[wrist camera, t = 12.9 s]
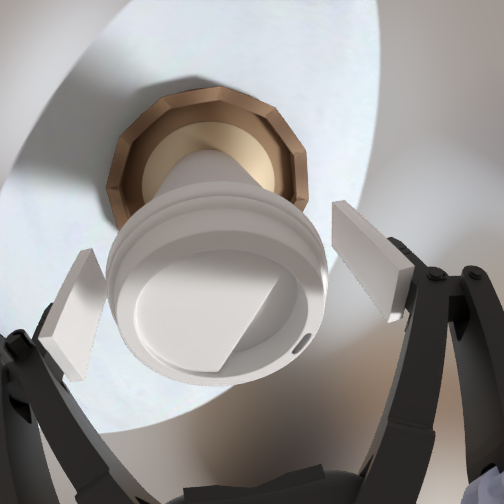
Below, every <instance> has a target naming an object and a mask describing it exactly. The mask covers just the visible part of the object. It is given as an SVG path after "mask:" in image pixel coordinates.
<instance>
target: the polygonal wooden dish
mask: <svg viewBox="0 0 504 504" xmlns="http://www.w3.org/2000/svg"><path fill="white" fill-rule="evenodd" d="M199 150H217V151H221V152H223V153H226V154H228V155H230V156H231V157H233V158H234V159H235V160H236V161H237V162H238V163H239V164H240V165H241V166H242V167H243V168H244V169H245V170H246V171H247V172H248V173H249V174H250V175H251V176H252V177H253V178H254V179H255V180H256V181H257V182H258V183H259V184H260V185H261V187H262V188H263V189H266V190H268V191H271V192H273V193H275V194H277V195H279V196H281V197H283V198H284V199H286V200H288V201H289V202H291V203H292V204H293V205H295V206H296V207H297V208H298V209H299V210H300V211H301V212H302V213H303V211H304V209H305V207H306V205H307V203H308V201H309V194H308V173H307V156H306V150H305V148H304V147H303V145H302V144H301V142H300V141H299V140H298V138H297V137H296V135H295V134H294V132H293V131H292V130H291V128H290V127H289V125H288V124H287V123H286V121H285V120H284V118H283V117H282V116H281V114H280V113H279V112H278V110H277V109H276V108H275V107H273V106H271V105H269V104H266V103H264V102H261V101H259V100H257V99H255V98H253V97H251V96H249V95H246V94H243V93H240V92H237V91H234V90H231V89H228V88H226V87H223V86H218V87H211V88H201V89H192V90H188V91H184V92H180V93H177V94H174V95H169V96H164V97H162V98H161V99H160V100H158V101H157V102H156V103H155V104H154V105H153V106H152V107H150V108H149V109H148V110H147V111H145V112H144V113H143V114H142V115H141V116H140V117H139V118H138V119H137V120H136V121H135V122H134V123H133V124H132V125H131V126H130V127H129V128H128V129H127V130H126V131H125V132H124V133H123V134H122V135H121V136H120V137H119V140H118V144H117V147H116V151H115V154H114V158H113V162H112V165H111V169H110V173H109V177H108V181H107V186H106V190H107V194H108V197H109V200H110V204H111V207H112V210H113V213H114V216H115V220H116V223H117V226H118V229H119V231H120V230H121V228H122V227H123V226H124V224H125V223H126V222H127V221H128V220H129V219H130V218H131V217H132V216H133V215H134V214H135V213H136V212H137V211H138V210H139V209H140V208H142V207H143V206H144V205H146V204H147V203H149V202H150V201H152V199H153V197H154V196H155V194H156V193H157V191H158V190H159V188H160V186H161V185H162V183H163V182H164V180H165V179H166V177H167V176H168V174H169V172H170V171H171V169H172V168H173V167H174V165H175V164H176V163H177V162H178V161H179V160H180V159H182V158H183V157H184V156H186V155H188V154H190V153H192V152H195V151H199Z"/></svg>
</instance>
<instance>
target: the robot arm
mask: <svg viewBox="0 0 504 504" xmlns="http://www.w3.org/2000/svg"><path fill="white" fill-rule="evenodd" d="M332 247H333V248H334V250H335V251H336V252H337V254H338V255H339V256H340V258H341V259H342V260H343V262H344V263H345V264H346V266H347V267H348V268H349V270H350V271H351V272H352V274H353V275H354V276H355V278H356V279H357V280H358V282H359V283H360V284H361V286H362V287H363V288H364V290H365V291H366V293H367V294H368V295H369V297H370V298H371V299H372V301H373V302H374V304H375V305H376V306H377V308H378V309H379V311H380V312H381V314H382V315H383V317H384V318H385V320H386V321H387V322H388V323H389V322H392V321H395V320H398V319H401V318H403V314H404V310H405V308H406V309H407V310H408V312H409V313H410V315H409V318H408V322H407V325H406V328H405V336H404V341H403V345H402V349H401V353H400V357H399V361H398V364H397V368H396V372H395V376H394V379H393V383H392V386H391V389H390V393H389V396H388V399H387V402H386V405H385V408H384V411H383V414H382V417H381V420H380V423H379V425H378V428H377V431H376V433H375V436H374V439H373V441H372V444H371V447H370V449H369V451H368V454H367V456H366V458H365V460H364V462H363V464H362V466H361V468H360V470H359V473H358V475H356V474H354V473H350V472H346V471H340V470H323V468H322V465H321V464H319V465H316V466H312V467H308V468H305V469H301V470H297V471H293V472H289V473H286V474H284V475H282V476H280V477H278V478H275V479H273V480H271V481H269V482H267V483H264V484H262V485H260V486H257V487H254V488H244V487H230V486H220V485H213V486H203V487H190V488H183V491H184V495H182V496H179V497H177V498H175V499H173V500H171V501H169V502H167V503H166V504H416V501H417V498H418V495H419V493H420V490H421V487H422V483H423V480H424V477H425V474H426V471H427V468H428V464H429V461H430V457H431V453H432V450H433V446H434V441H435V431H433V423H434V418H435V413H436V408H437V403H438V398H439V392H440V387H441V380H442V373H443V366H444V358H445V349H446V339H447V327H448V324H449V328H450V333H451V337H452V342H453V347H454V352H455V358H456V363H457V369H458V375H459V382H460V389H461V397H462V406H463V416H464V428H465V444H466V466H467V475H468V481H469V486H468V487H467V488H466V490H465V492H464V495H463V499H462V500H461V504H504V311H503V308H502V306H501V303H500V301H499V299H498V297H497V294H496V292H495V290H494V288H493V285H492V283H491V281H490V279H489V277H488V275H487V273H486V272H485V271H484V270H482V269H481V268H479V267H477V266H466V267H464V269H463V270H462V274H461V276H448V274H447V273H446V272H445V271H443V270H442V269H440V268H437V267H427V266H426V265H425V264H424V263H423V262H422V261H421V260H420V259H419V258H418V257H417V256H416V255H415V254H414V253H412V251H410V250H409V249H408V248H407V247H406V246H405V245H404V244H403V243H402V242H401V241H399V240H397V239H395V238H393V237H389V238H386V237H385V236H384V235H383V234H381V233H380V232H379V231H378V230H377V229H376V228H375V227H374V226H373V225H372V224H371V223H370V222H369V221H367V220H366V219H365V218H364V217H363V216H362V215H361V214H360V213H359V212H357V211H356V210H355V209H354V208H353V207H352V206H351V205H350V204H348V203H347V202H346V201H345V200H343V201H336V202H332ZM106 297H107V291H106V280H105V278H104V276H103V273H102V271H101V269H100V266H99V264H98V262H97V259H96V257H95V254H94V252H93V249H92V248H91V249H86V250H82V251H80V252H79V254H78V256H77V258H76V260H75V262H74V263H73V265H72V267H71V269H70V271H69V273H68V275H67V277H66V279H65V281H64V283H63V284H62V286H61V288H60V290H59V293H58V295H57V297H56V299H55V301H54V303H50V305H49V306H48V307H47V308H46V309H45V310H44V313H43V315H42V317H41V319H40V321H39V323H38V326H37V328H36V330H35V332H34V335H33V337H32V339H30V337H29V336H28V334H27V333H26V332H25V330H23V329H18V330H15V331H14V332H12V333H11V334H10V335H8V337H7V338H6V339H5V338H3V337H2V336H1V335H0V504H60V503H59V500H58V497H57V494H56V492H55V489H54V485H53V483H52V479H51V476H50V472H49V469H48V466H47V462H46V458H45V454H44V451H43V446H42V442H41V437H40V432H39V428H38V423H39V425H40V428H41V430H42V432H43V433H44V435H45V438H46V440H47V441H48V443H49V445H50V447H51V449H52V451H53V452H54V454H55V456H56V458H57V460H58V461H59V463H60V465H61V467H62V468H63V470H64V472H65V473H66V475H67V477H68V478H69V480H70V481H71V483H72V485H73V486H74V488H75V489H76V491H77V494H76V496H75V499H76V501H77V503H78V504H161V503H160V502H158V501H157V500H156V499H155V498H153V497H152V496H151V495H150V494H149V493H148V492H147V491H146V490H145V489H144V488H143V487H142V486H141V485H140V484H139V483H138V482H137V481H136V479H135V478H134V477H133V476H132V475H131V474H130V473H129V472H128V470H127V469H126V468H125V467H124V466H123V465H122V463H121V462H120V461H119V460H118V459H117V457H116V456H115V455H114V454H113V452H112V451H111V450H110V449H109V447H108V446H107V445H106V444H105V442H104V441H103V440H102V438H101V437H100V435H99V434H98V433H97V431H96V430H95V429H94V427H93V426H92V424H91V423H90V421H89V420H88V419H87V417H86V416H85V414H84V413H83V411H82V410H81V408H80V407H79V405H78V404H77V402H76V401H75V399H74V397H73V396H72V394H71V393H70V391H69V389H68V388H67V386H66V384H65V383H64V382H63V381H62V378H63V375H64V374H65V375H66V377H67V378H68V379H69V380H70V382H73V381H85V376H86V372H87V367H88V363H89V359H90V355H91V351H92V347H93V343H94V339H95V335H96V331H97V328H98V324H99V321H100V317H101V314H102V310H103V307H104V304H105V300H106ZM37 421H38V422H37Z"/></svg>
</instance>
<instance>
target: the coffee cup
mask: <svg viewBox="0 0 504 504" xmlns="http://www.w3.org/2000/svg"><path fill="white" fill-rule="evenodd" d="M327 288H328V266H327V260H326V255H325V250H324V247H323V244H322V241H321V239H320V236H319V234H318V232H317V231H316V229H315V227H314V226H313V224H312V223H311V222H310V220H309V219H308V218H307V217H306V216H305V215H304V214H303V213H302V212H301V211H300V210H299V209H298V208H297V207H296V206H295V205H293V204H292V203H291V202H289V201H288V200H286V199H284V198H283V197H281V196H279V195H277V194H275V193H273V192H271V191H268V190H266V189H263V188H262V187H261V185H260V184H259V183H258V182H257V181H256V180H255V179H254V178H253V177H252V176H251V175H250V174H249V173H248V172H247V171H246V170H245V169H244V168H243V167H242V166H241V165H240V164H239V163H238V162H237V161H236V160H235V159H234V158H233V157H231V156H230V155H228V154H226V153H223V152H221V151H217V150H199V151H195V152H192V153H190V154H188V155H186V156H184V157H183V158H182V159H180V160H179V161H178V162H177V163H176V164H175V165H174V167H173V168H172V169H171V171H170V172H169V174H168V176H167V177H166V179H165V180H164V182H163V183H162V185H161V186H160V188H159V190H158V191H157V193H156V194H155V196H154V197H153V199H152V201H150V202H149V203H147V204H146V205H144V206H143V207H142V208H140V209H139V210H138V211H137V212H136V213H135V214H134V215H133V216H132V217H131V218H130V219H129V220H128V221H127V222H126V223H125V224H124V226H123V227H122V228H121V230H120V231H119V233H118V235H117V236H116V238H115V240H114V242H113V244H112V247H111V249H110V252H109V256H108V260H107V265H106V291H107V298H108V302H109V306H110V309H111V312H112V315H113V318H114V320H115V322H116V324H117V326H118V329H119V332H120V334H121V336H122V339H123V341H124V342H125V344H126V346H127V347H128V348H129V350H130V351H131V352H132V353H133V355H134V356H135V357H136V358H137V359H138V360H140V361H141V362H142V363H143V364H144V365H146V366H147V367H149V368H150V369H152V370H153V371H155V372H157V373H159V374H161V375H163V376H165V377H167V378H170V379H173V380H176V381H179V382H183V383H187V384H193V385H200V386H228V385H235V384H241V383H245V382H249V381H253V380H256V379H259V378H261V377H264V376H267V375H269V374H271V373H273V372H275V371H277V370H279V369H280V368H282V367H284V366H285V365H287V364H288V363H290V362H291V361H292V360H294V359H295V358H296V357H297V356H298V355H299V354H300V353H302V352H303V350H304V349H305V348H306V347H307V346H308V345H309V344H310V342H311V341H312V339H313V338H314V336H315V335H316V333H317V331H318V329H319V327H320V324H321V321H322V318H323V314H324V308H325V299H326V295H327Z"/></svg>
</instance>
